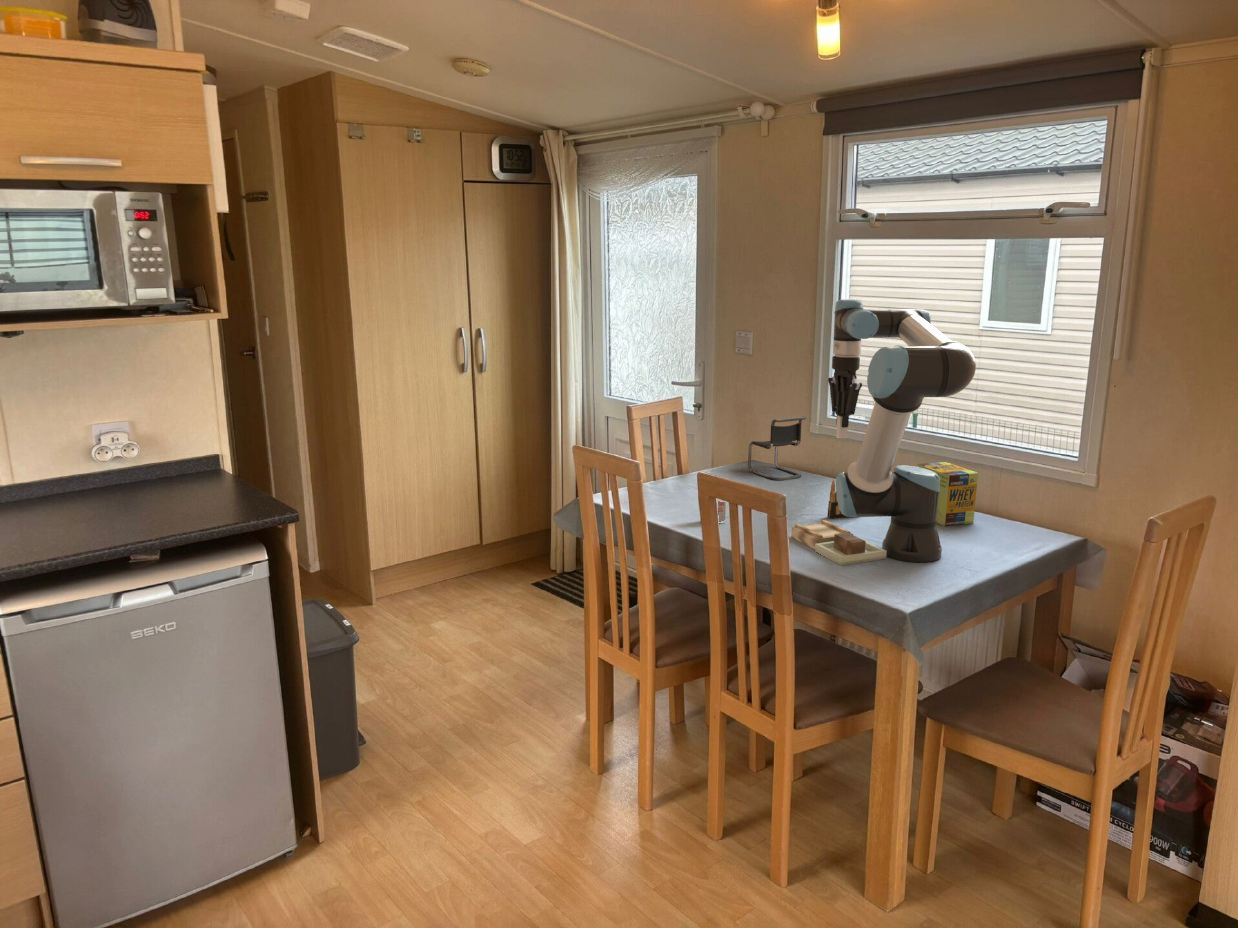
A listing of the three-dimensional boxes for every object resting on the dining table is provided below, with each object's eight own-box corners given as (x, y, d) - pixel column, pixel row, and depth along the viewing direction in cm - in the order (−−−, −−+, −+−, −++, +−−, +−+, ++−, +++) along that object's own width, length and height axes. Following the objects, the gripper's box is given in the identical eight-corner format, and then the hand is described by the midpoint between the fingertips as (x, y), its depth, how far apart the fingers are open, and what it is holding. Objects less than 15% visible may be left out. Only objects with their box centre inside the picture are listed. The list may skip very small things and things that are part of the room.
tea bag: (699, 521, 271) (699, 489, 268) (720, 519, 272) (721, 487, 270) (703, 525, 267) (704, 492, 265) (725, 523, 269) (725, 490, 266)
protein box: (944, 526, 266) (949, 475, 262) (912, 512, 280) (916, 463, 276) (974, 523, 269) (979, 472, 265) (941, 509, 283) (945, 461, 280)
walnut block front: (855, 551, 242) (864, 555, 238) (842, 552, 240) (851, 557, 237) (856, 536, 241) (865, 541, 237) (843, 538, 239) (852, 542, 236)
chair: (775, 481, 317) (777, 419, 312) (747, 471, 332) (749, 411, 327) (805, 477, 322) (808, 416, 317) (776, 467, 337) (778, 408, 332)
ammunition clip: (859, 514, 278) (861, 476, 275) (862, 516, 276) (864, 478, 273) (827, 517, 275) (829, 478, 272) (829, 518, 273) (832, 480, 271)
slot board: (852, 544, 250) (853, 531, 249) (815, 549, 245) (816, 536, 244) (827, 532, 260) (827, 519, 259) (791, 537, 256) (791, 524, 255)
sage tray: (886, 558, 238) (886, 550, 238) (841, 565, 233) (841, 557, 233) (857, 545, 249) (858, 537, 249) (814, 551, 244) (815, 543, 243)
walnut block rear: (855, 550, 242) (856, 536, 241) (842, 552, 240) (843, 538, 240) (846, 546, 246) (846, 532, 245) (833, 548, 244) (834, 534, 243)
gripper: (821, 353, 259) (817, 434, 265) (849, 358, 247) (844, 443, 253) (843, 352, 262) (838, 432, 267) (871, 357, 250) (866, 441, 256)
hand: (841, 437), depth 260 cm, fingers closed
